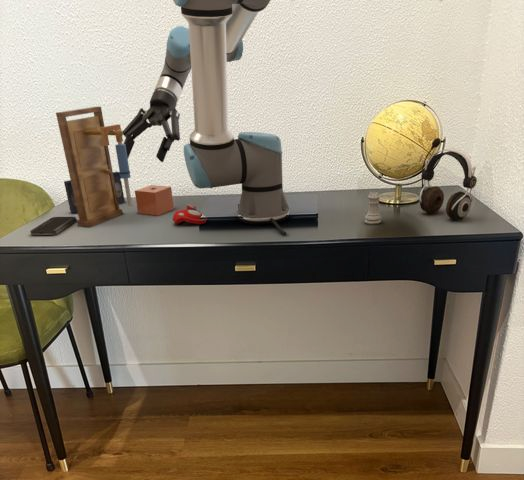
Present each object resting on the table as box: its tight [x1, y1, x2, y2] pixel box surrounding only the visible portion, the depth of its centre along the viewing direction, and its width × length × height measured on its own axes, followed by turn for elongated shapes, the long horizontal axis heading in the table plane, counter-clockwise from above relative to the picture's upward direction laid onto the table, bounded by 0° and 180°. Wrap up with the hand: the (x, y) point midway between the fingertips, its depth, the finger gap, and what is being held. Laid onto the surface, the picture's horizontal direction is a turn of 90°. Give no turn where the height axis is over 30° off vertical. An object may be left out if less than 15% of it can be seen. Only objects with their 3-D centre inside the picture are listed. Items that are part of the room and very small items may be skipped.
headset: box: [419, 137, 478, 221], centre depth 144 cm, size 17×8×20 cm, turn 34°
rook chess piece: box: [364, 191, 382, 226], centre depth 145 cm, size 4×4×8 cm
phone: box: [30, 216, 77, 236], centre depth 157 cm, size 8×1×15 cm
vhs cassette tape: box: [63, 171, 126, 214], centre depth 174 cm, size 18×3×10 cm, turn 128°
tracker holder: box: [172, 203, 208, 225], centre depth 156 cm, size 12×4×10 cm
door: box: [55, 106, 124, 228], centre depth 153 cm, size 15×16×31 cm
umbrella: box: [100, 124, 133, 207], centre depth 151 cm, size 8×3×22 cm, turn 151°
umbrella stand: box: [134, 184, 175, 216], centre depth 167 cm, size 8×8×7 cm
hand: (141, 158), depth 158 cm, fingers open, 13 cm apart
